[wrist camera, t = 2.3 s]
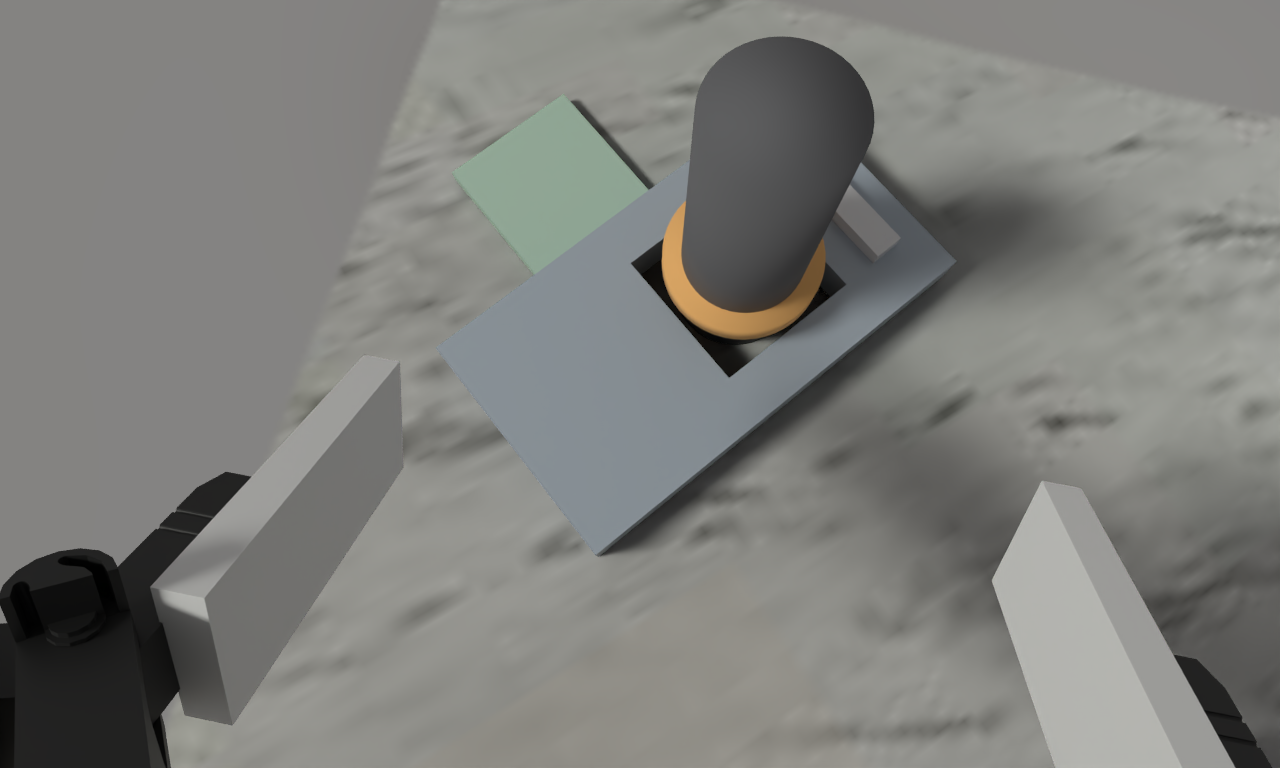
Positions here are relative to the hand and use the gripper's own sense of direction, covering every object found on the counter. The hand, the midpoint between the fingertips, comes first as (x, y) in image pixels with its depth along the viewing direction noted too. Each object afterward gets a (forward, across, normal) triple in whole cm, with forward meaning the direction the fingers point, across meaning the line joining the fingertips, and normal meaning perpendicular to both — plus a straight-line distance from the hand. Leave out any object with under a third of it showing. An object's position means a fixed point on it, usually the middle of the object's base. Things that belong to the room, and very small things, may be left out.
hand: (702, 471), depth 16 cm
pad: (+20, -8, -1) cm, 21 cm away
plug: (+17, +1, -4) cm, 18 cm away
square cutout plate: (+16, -1, -5) cm, 17 cm away
